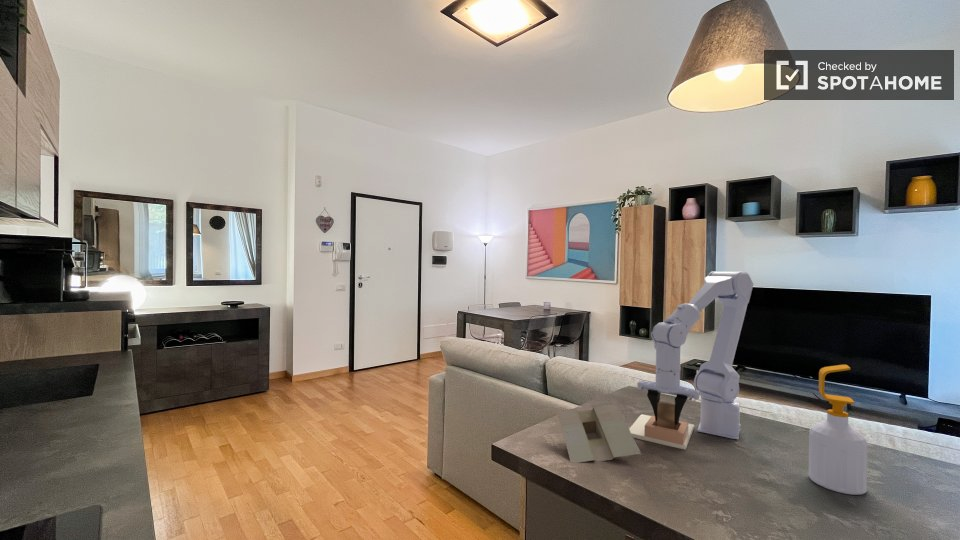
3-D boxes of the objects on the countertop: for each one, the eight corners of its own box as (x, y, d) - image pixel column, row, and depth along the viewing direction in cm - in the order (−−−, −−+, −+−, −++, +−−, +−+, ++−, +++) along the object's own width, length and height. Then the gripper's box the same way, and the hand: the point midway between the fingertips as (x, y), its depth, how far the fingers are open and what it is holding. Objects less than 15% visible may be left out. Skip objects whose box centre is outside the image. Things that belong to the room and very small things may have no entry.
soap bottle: (872, 501, 78) (874, 372, 78) (811, 487, 83) (813, 365, 83) (860, 481, 86) (862, 364, 86) (805, 469, 91) (807, 358, 91)
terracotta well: (688, 433, 107) (688, 422, 107) (683, 445, 100) (683, 433, 100) (651, 425, 112) (651, 415, 112) (644, 436, 105) (644, 425, 105)
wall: (638, 469, 97) (616, 412, 109) (643, 453, 92) (620, 394, 103) (569, 479, 98) (555, 420, 109) (570, 463, 92) (555, 403, 103)
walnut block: (676, 428, 107) (677, 402, 107) (674, 433, 103) (674, 406, 103) (660, 425, 109) (660, 399, 109) (657, 430, 106) (657, 402, 106)
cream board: (694, 428, 114) (694, 424, 114) (685, 449, 100) (685, 445, 100) (641, 417, 121) (641, 414, 121) (626, 436, 107) (626, 432, 107)
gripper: (634, 368, 107) (634, 420, 107) (697, 376, 99) (696, 433, 99) (641, 363, 113) (640, 412, 113) (700, 371, 105) (699, 424, 105)
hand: (666, 421), depth 106 cm, fingers closed on walnut block, 4 cm apart
